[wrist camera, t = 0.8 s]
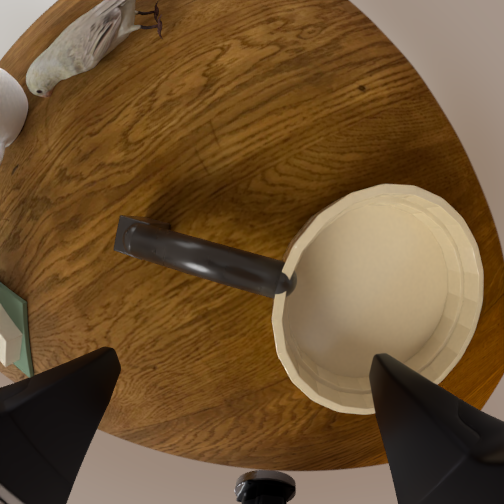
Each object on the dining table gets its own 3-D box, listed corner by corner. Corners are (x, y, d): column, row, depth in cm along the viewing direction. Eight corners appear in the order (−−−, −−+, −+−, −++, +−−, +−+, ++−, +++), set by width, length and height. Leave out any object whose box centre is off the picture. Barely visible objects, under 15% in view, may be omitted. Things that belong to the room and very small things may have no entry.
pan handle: (288, 290, 19) (291, 309, 15) (137, 246, 20) (103, 251, 15) (297, 258, 19) (304, 267, 14) (144, 216, 20) (110, 214, 15)
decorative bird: (49, 82, 20) (9, 61, 12) (166, 10, 18) (140, -34, 11) (47, 115, 20) (2, 96, 13) (174, 38, 18) (144, -11, 11)
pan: (412, 390, 19) (432, 417, 14) (249, 362, 20) (242, 393, 16) (468, 228, 17) (502, 229, 13) (304, 166, 18) (312, 148, 14)
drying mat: (34, 376, 23) (30, 378, 22) (0, 346, 24) (-4, 347, 23) (27, 301, 22) (22, 303, 21) (-6, 276, 23) (-11, 277, 22)
